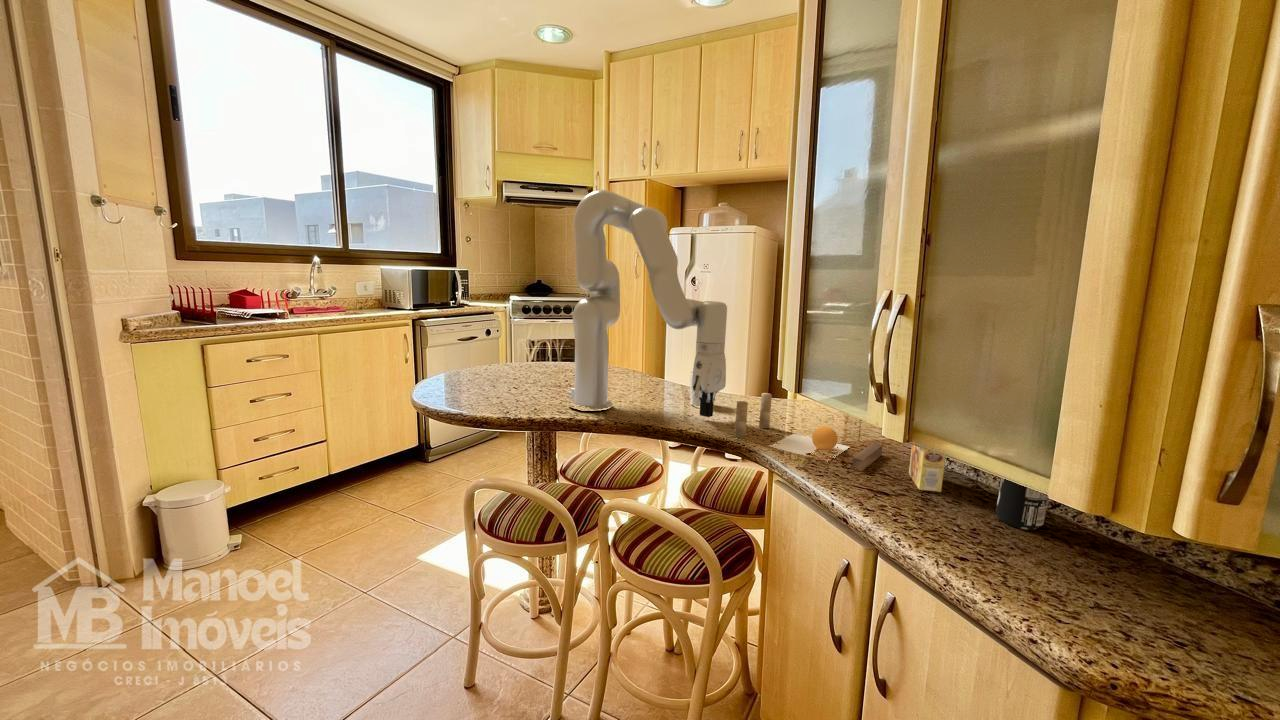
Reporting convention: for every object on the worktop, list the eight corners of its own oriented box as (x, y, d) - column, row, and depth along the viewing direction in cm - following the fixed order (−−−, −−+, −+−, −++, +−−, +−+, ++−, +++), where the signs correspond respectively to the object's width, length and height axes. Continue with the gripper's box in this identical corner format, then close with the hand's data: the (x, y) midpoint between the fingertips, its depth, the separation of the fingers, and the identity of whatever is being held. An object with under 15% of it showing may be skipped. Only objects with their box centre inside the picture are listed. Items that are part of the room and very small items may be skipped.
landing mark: (768, 446, 121) (768, 446, 121) (794, 434, 132) (794, 433, 132) (828, 462, 113) (828, 461, 113) (850, 447, 123) (850, 446, 123)
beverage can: (997, 509, 93) (1007, 445, 91) (1043, 521, 89) (1055, 454, 87) (992, 522, 88) (1004, 454, 86) (1041, 535, 84) (1054, 464, 81)
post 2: (757, 427, 136) (759, 394, 135) (761, 425, 138) (764, 392, 137) (766, 429, 135) (769, 395, 133) (770, 427, 137) (773, 394, 135)
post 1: (732, 438, 127) (734, 402, 125) (737, 435, 129) (740, 400, 127) (741, 440, 125) (744, 404, 124) (747, 438, 127) (749, 402, 126)
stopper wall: (851, 469, 109) (852, 457, 109) (872, 452, 120) (873, 442, 120) (861, 471, 108) (862, 460, 108) (881, 455, 119) (882, 444, 118)
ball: (811, 453, 120) (805, 430, 120) (820, 448, 124) (815, 425, 124) (834, 452, 116) (829, 427, 117) (843, 446, 121) (838, 422, 121)
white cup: (684, 402, 159) (686, 370, 158) (708, 401, 162) (710, 370, 160) (694, 409, 152) (696, 376, 150) (719, 408, 154) (721, 375, 153)
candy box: (942, 493, 99) (953, 415, 96) (917, 490, 100) (928, 413, 97) (928, 476, 107) (938, 403, 105) (906, 473, 108) (915, 401, 106)
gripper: (706, 353, 129) (702, 424, 132) (737, 347, 141) (732, 413, 144) (682, 349, 134) (678, 418, 137) (713, 344, 145) (709, 408, 148)
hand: (706, 415), depth 140 cm, fingers closed
